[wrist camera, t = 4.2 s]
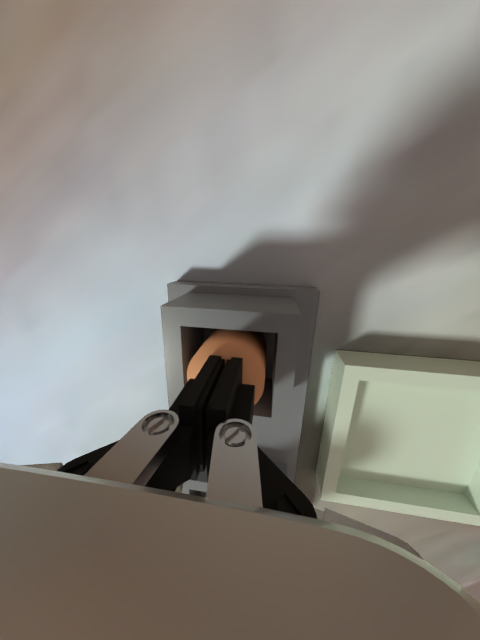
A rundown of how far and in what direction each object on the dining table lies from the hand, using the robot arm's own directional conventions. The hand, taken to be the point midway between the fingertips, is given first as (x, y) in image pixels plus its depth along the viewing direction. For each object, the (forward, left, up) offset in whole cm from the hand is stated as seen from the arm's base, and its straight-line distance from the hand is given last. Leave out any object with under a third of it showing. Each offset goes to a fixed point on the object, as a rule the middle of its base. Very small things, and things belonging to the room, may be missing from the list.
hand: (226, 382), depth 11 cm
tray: (+6, +13, -6) cm, 16 cm away
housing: (+7, 0, -6) cm, 10 cm away
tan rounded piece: (0, 0, -4) cm, 4 cm away
